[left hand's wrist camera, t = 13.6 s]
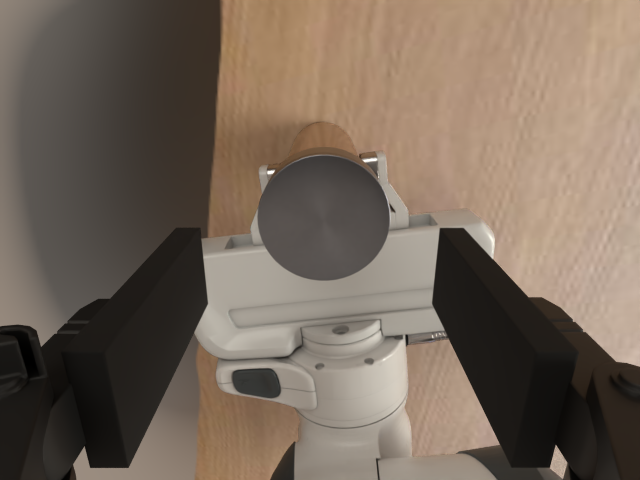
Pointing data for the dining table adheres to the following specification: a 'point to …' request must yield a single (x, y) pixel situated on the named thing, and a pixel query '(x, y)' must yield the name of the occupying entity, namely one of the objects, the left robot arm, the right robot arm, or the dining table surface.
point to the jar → (322, 138)
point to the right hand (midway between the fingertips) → (320, 159)
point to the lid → (323, 214)
